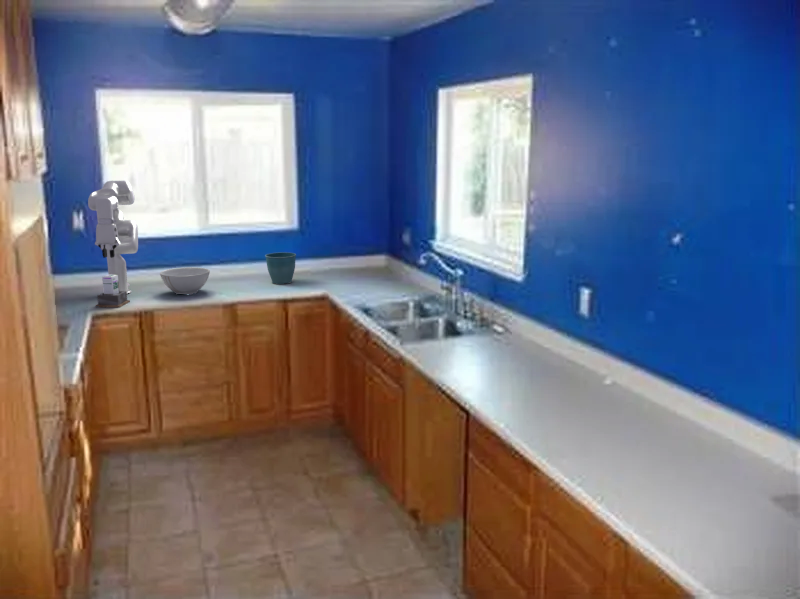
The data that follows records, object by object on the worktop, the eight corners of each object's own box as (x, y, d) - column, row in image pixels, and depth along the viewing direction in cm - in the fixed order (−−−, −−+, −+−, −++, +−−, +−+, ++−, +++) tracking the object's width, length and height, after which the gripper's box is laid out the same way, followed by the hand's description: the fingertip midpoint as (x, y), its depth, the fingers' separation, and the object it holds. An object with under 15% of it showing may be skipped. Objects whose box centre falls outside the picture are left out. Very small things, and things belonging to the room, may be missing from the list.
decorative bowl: (154, 297, 393) (152, 276, 390) (170, 287, 419) (169, 267, 416) (202, 298, 392) (201, 276, 389) (216, 287, 418) (215, 267, 416)
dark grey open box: (107, 301, 384) (105, 290, 382) (130, 301, 383) (129, 290, 382) (95, 307, 372) (94, 295, 370) (119, 307, 371) (118, 296, 369)
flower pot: (272, 286, 422) (271, 258, 418) (262, 281, 437) (261, 253, 433) (301, 283, 430) (300, 255, 426) (290, 278, 446) (289, 251, 442)
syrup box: (114, 304, 374) (112, 276, 371) (104, 303, 375) (101, 276, 372) (120, 301, 379) (118, 274, 376) (110, 301, 380) (108, 274, 377)
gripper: (124, 221, 371) (127, 256, 375) (93, 220, 372) (96, 255, 376) (117, 222, 363) (121, 258, 367) (86, 222, 364) (89, 258, 369)
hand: (108, 257), depth 372 cm, fingers open, 3 cm apart
